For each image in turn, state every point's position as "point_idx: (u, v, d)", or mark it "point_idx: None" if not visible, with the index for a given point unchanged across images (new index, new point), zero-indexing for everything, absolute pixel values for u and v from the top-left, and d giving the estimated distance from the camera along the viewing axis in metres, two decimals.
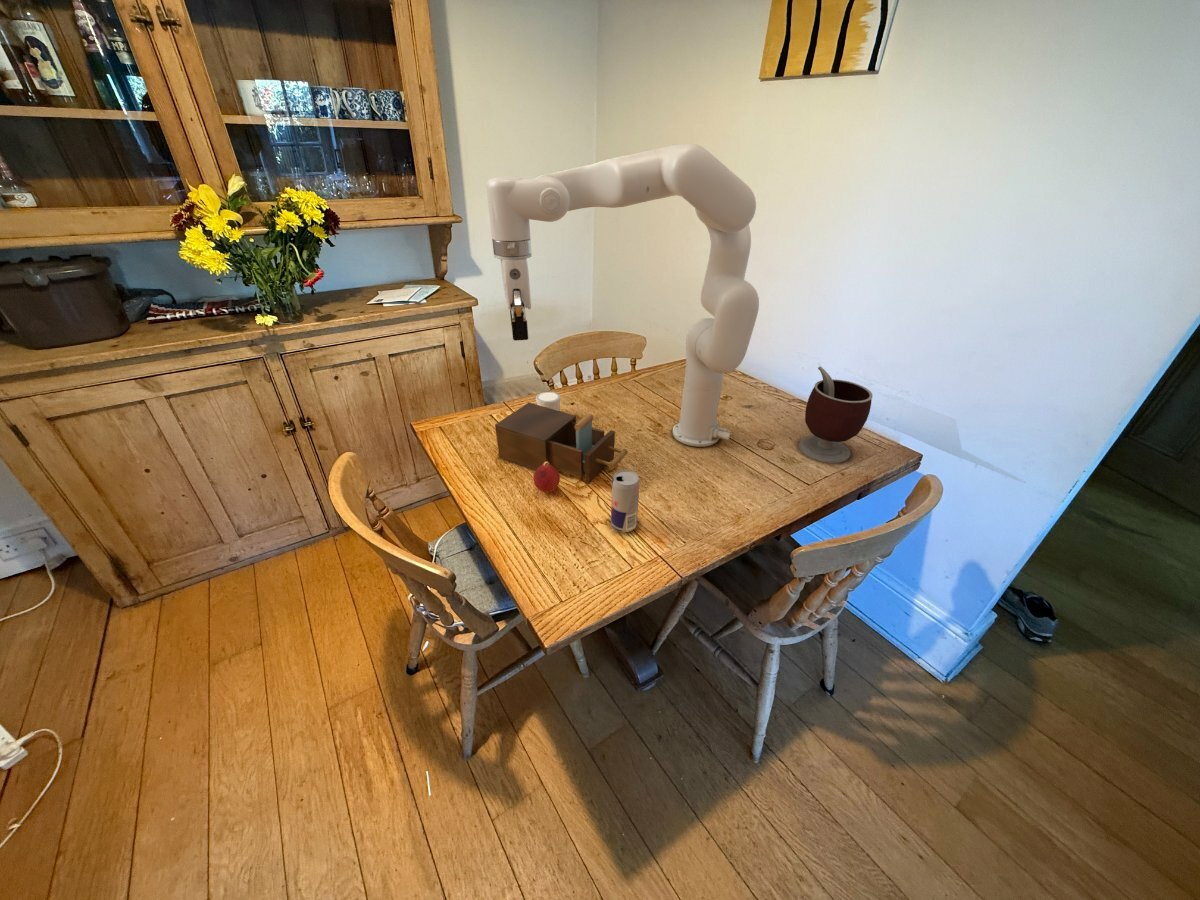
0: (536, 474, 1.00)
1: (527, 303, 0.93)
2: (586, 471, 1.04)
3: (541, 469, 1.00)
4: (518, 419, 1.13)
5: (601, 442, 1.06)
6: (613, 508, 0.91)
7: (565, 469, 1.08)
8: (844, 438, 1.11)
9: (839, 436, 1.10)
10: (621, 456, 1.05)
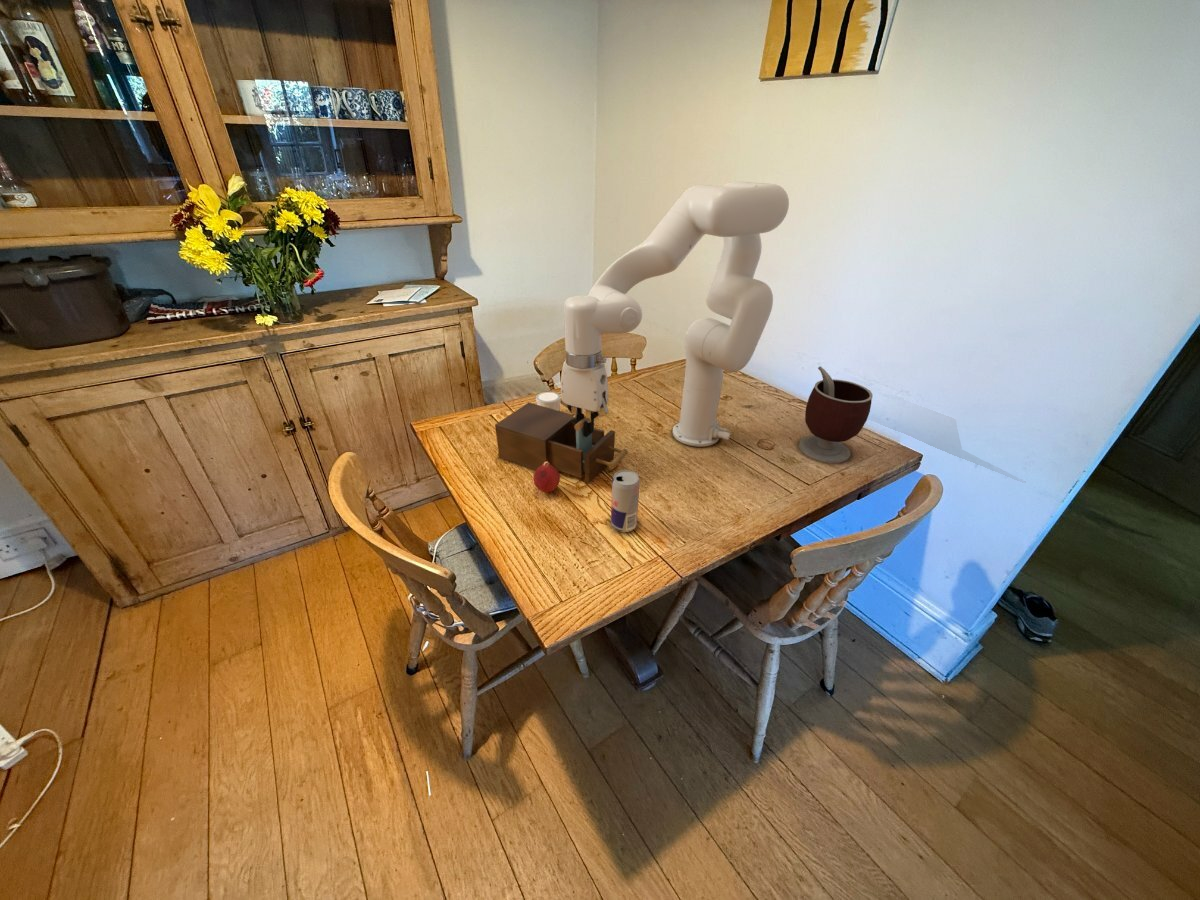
0: (536, 474, 1.00)
1: (607, 400, 1.01)
2: (586, 471, 1.04)
3: (541, 469, 1.00)
4: (518, 419, 1.13)
5: (601, 442, 1.06)
6: (613, 508, 0.91)
7: (565, 469, 1.08)
8: (844, 438, 1.11)
9: (839, 436, 1.10)
10: (621, 456, 1.05)
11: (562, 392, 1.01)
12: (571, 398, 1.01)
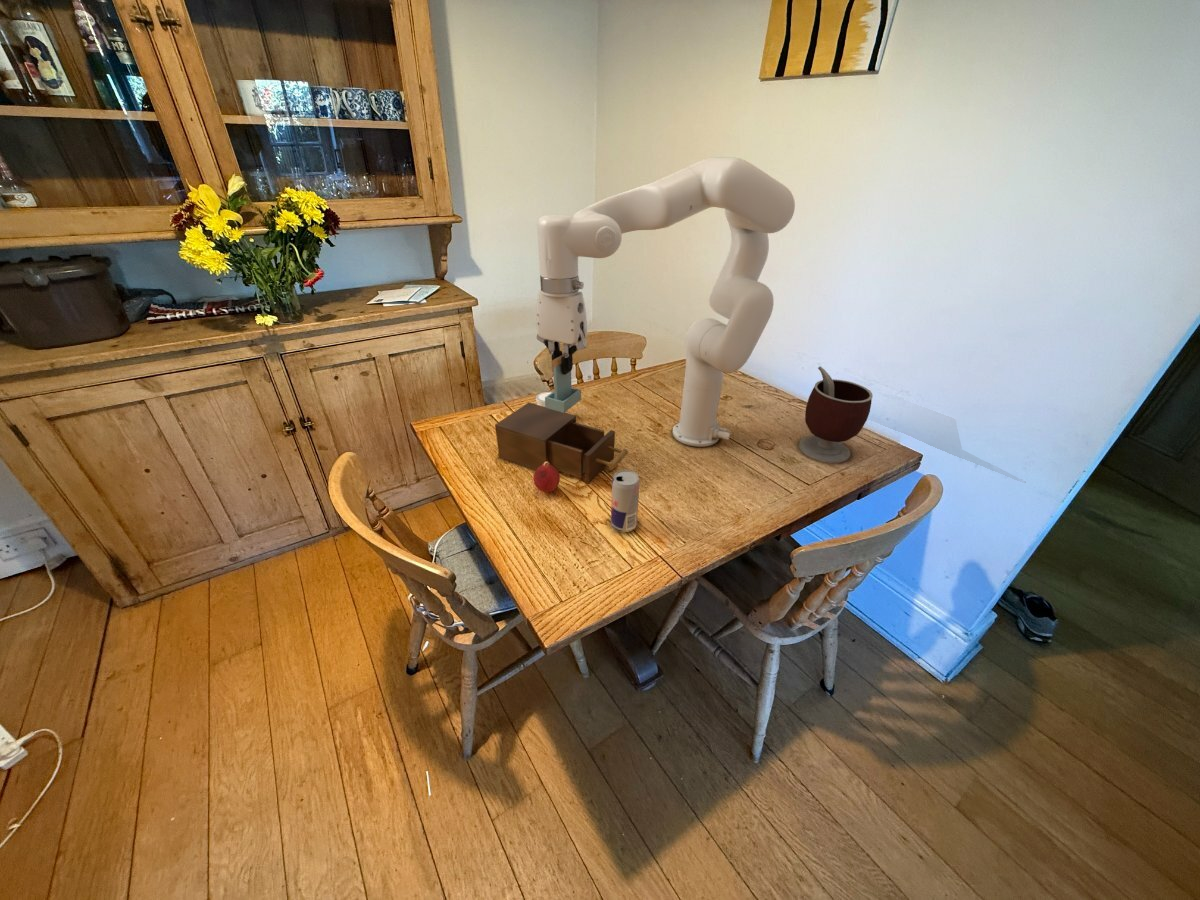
0: (536, 474, 1.00)
1: (586, 333, 0.96)
2: (586, 471, 1.04)
3: (541, 469, 1.00)
4: (518, 419, 1.13)
5: (601, 442, 1.06)
6: (613, 508, 0.91)
7: (565, 469, 1.08)
8: (844, 438, 1.11)
9: (839, 436, 1.10)
10: (621, 456, 1.05)
11: (538, 325, 0.96)
12: (547, 331, 0.95)
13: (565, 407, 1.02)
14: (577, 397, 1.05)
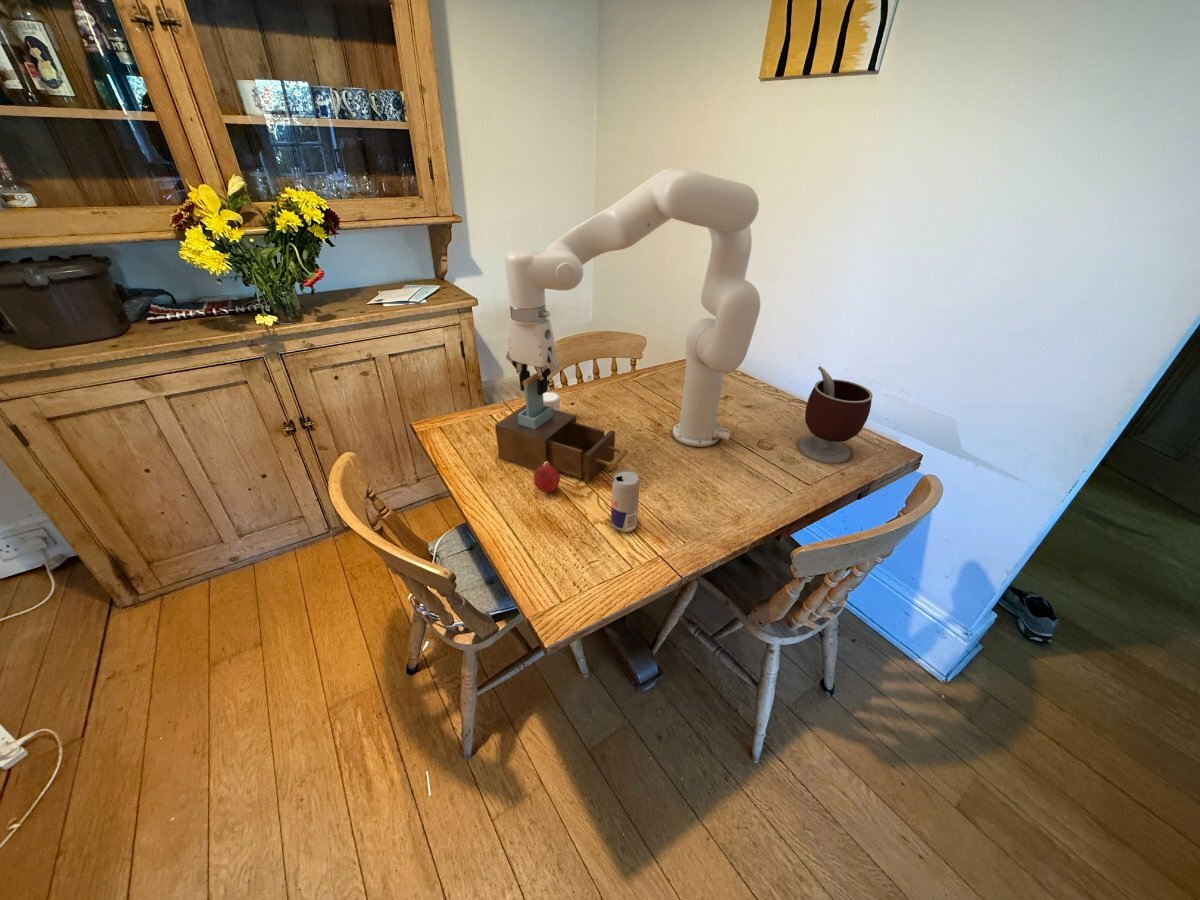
0: (536, 474, 1.00)
1: (554, 357, 1.03)
2: (586, 471, 1.04)
3: (541, 469, 1.00)
4: None
5: (601, 442, 1.06)
6: (613, 508, 0.91)
7: (565, 469, 1.08)
8: (844, 438, 1.11)
9: (839, 436, 1.10)
10: (621, 456, 1.05)
11: (510, 349, 1.03)
12: (518, 354, 1.02)
13: (536, 424, 1.08)
14: (549, 414, 1.12)
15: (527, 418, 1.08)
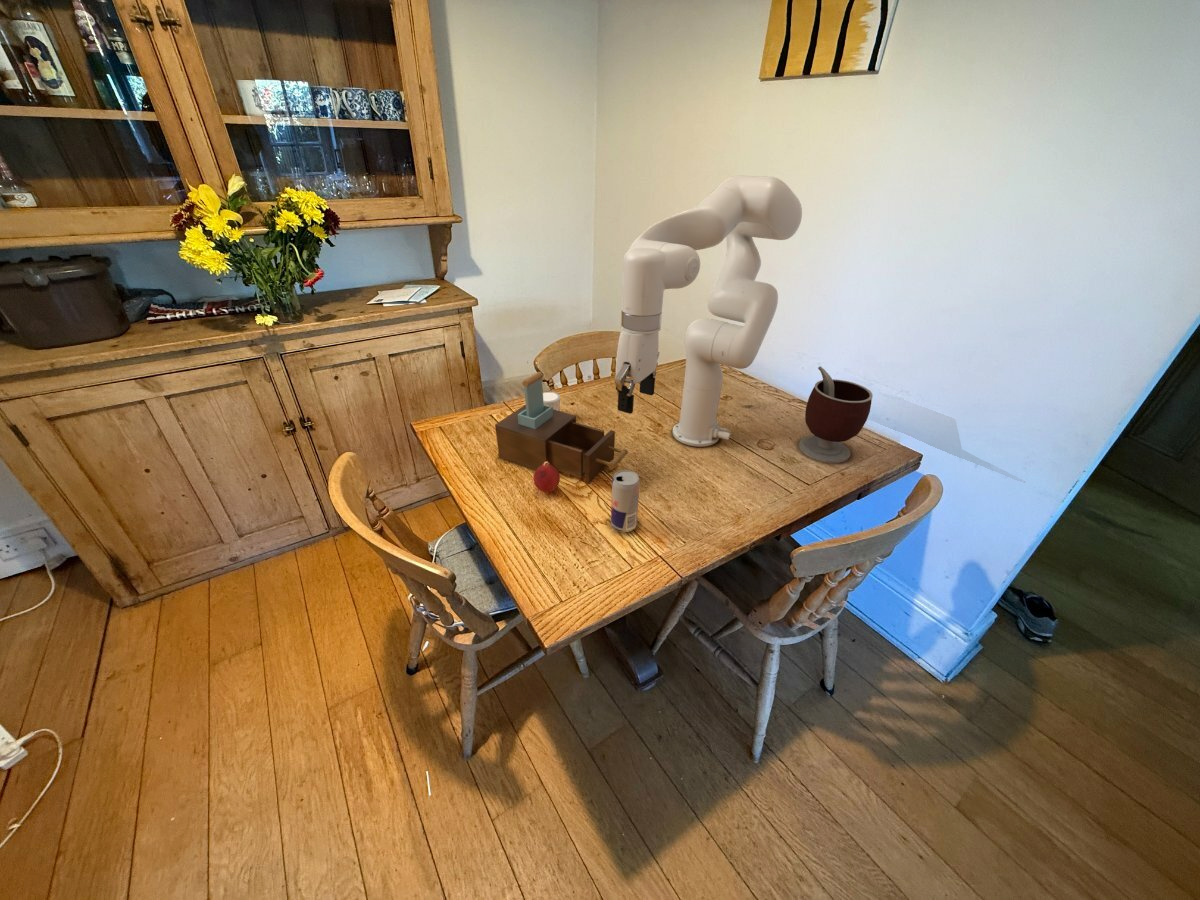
0: (536, 474, 1.00)
1: None
2: (586, 471, 1.04)
3: (541, 469, 1.00)
4: None
5: (601, 442, 1.06)
6: (613, 508, 0.91)
7: (565, 469, 1.08)
8: (844, 438, 1.11)
9: (839, 436, 1.10)
10: (621, 456, 1.05)
11: (638, 371, 0.87)
12: (644, 370, 0.89)
13: (536, 424, 1.08)
14: (549, 414, 1.12)
15: (527, 418, 1.08)
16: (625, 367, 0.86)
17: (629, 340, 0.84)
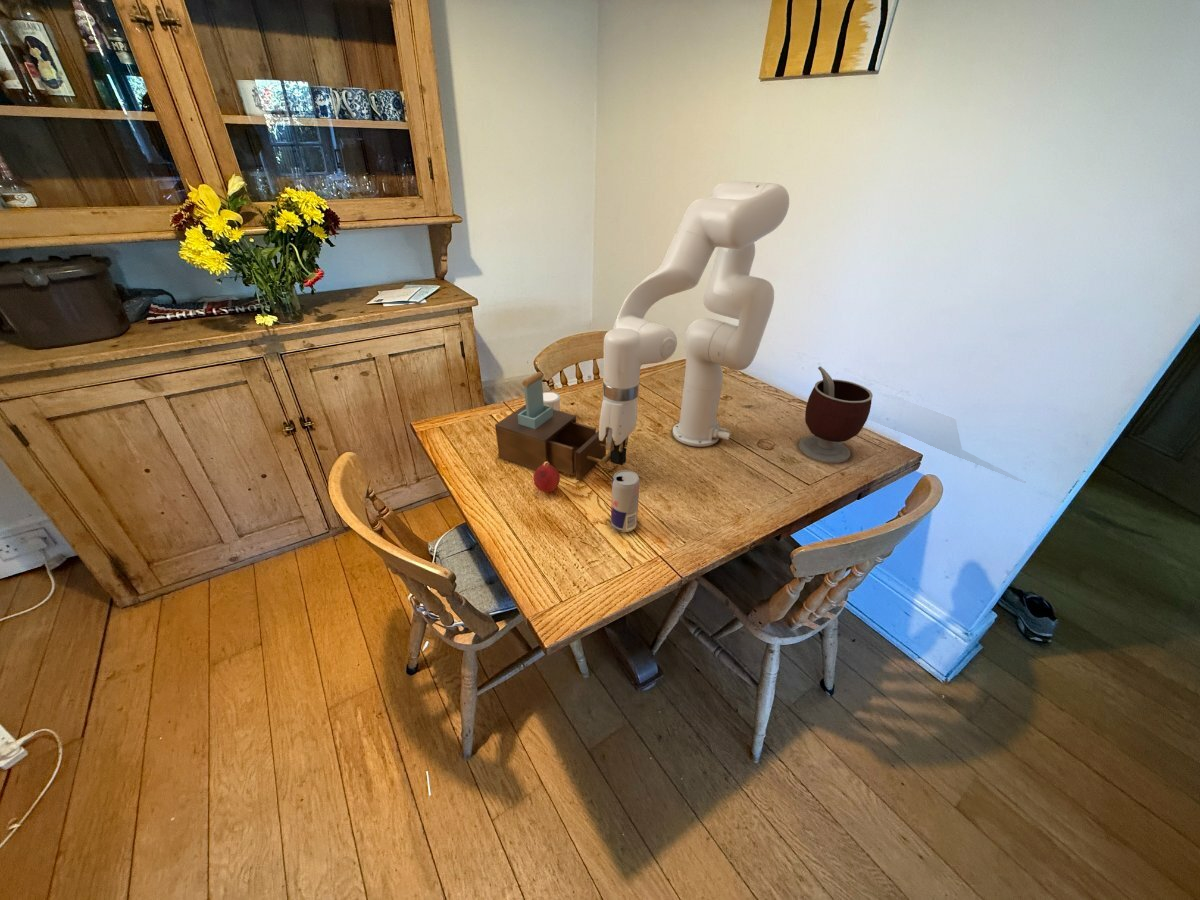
0: (536, 474, 1.00)
1: None
2: (577, 468, 1.04)
3: (541, 469, 1.00)
4: None
5: (592, 439, 1.07)
6: (613, 508, 0.91)
7: (557, 466, 1.09)
8: (844, 438, 1.11)
9: (839, 436, 1.10)
10: None
11: (619, 435, 0.96)
12: (625, 433, 0.98)
13: (536, 424, 1.08)
14: (549, 414, 1.12)
15: (527, 418, 1.08)
16: (610, 436, 0.97)
17: (610, 409, 0.94)
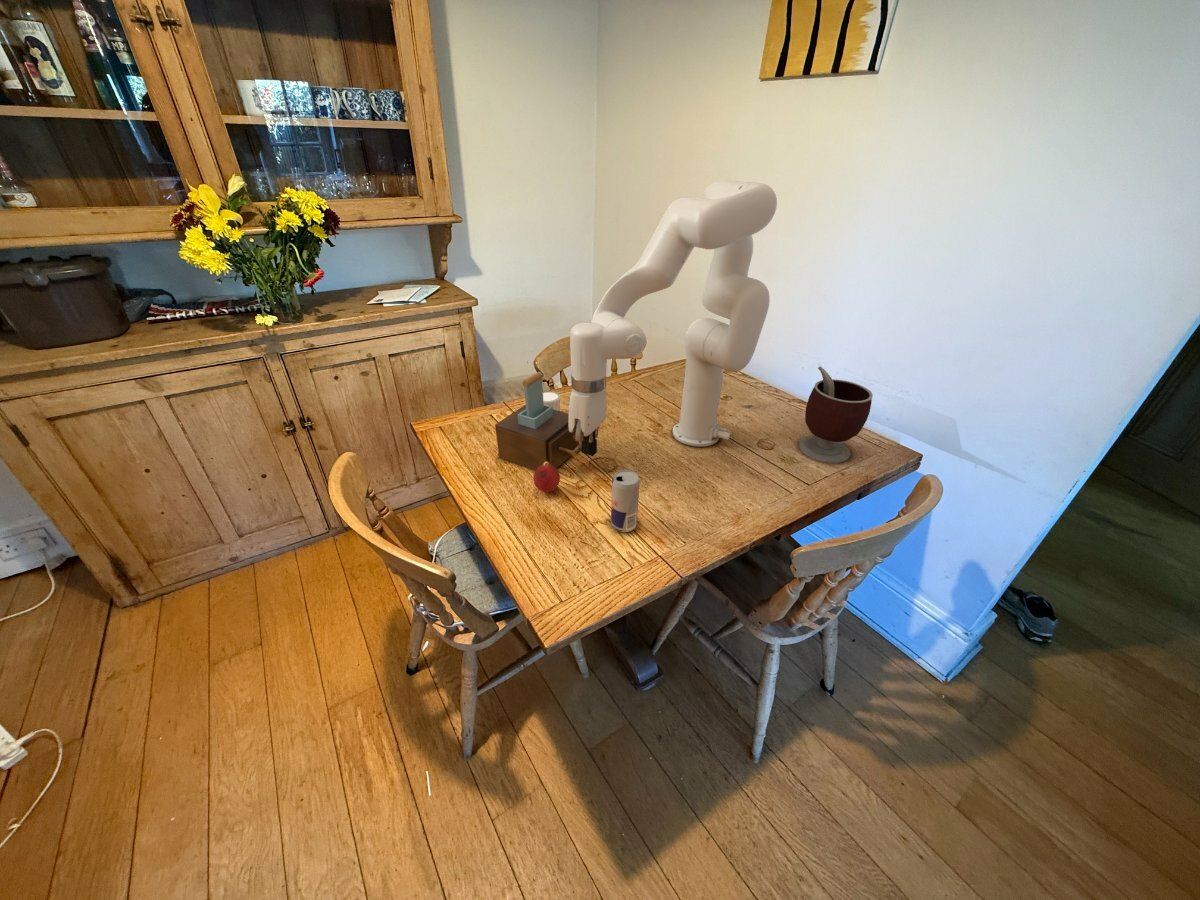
0: (536, 474, 1.00)
1: None
2: (549, 459, 1.08)
3: (541, 469, 1.00)
4: None
5: (564, 431, 1.10)
6: (613, 508, 0.91)
7: None
8: (844, 438, 1.11)
9: (839, 436, 1.10)
10: None
11: (587, 426, 0.99)
12: (593, 424, 1.02)
13: (536, 424, 1.08)
14: (549, 414, 1.12)
15: (527, 418, 1.08)
16: (579, 427, 1.00)
17: (578, 400, 0.97)
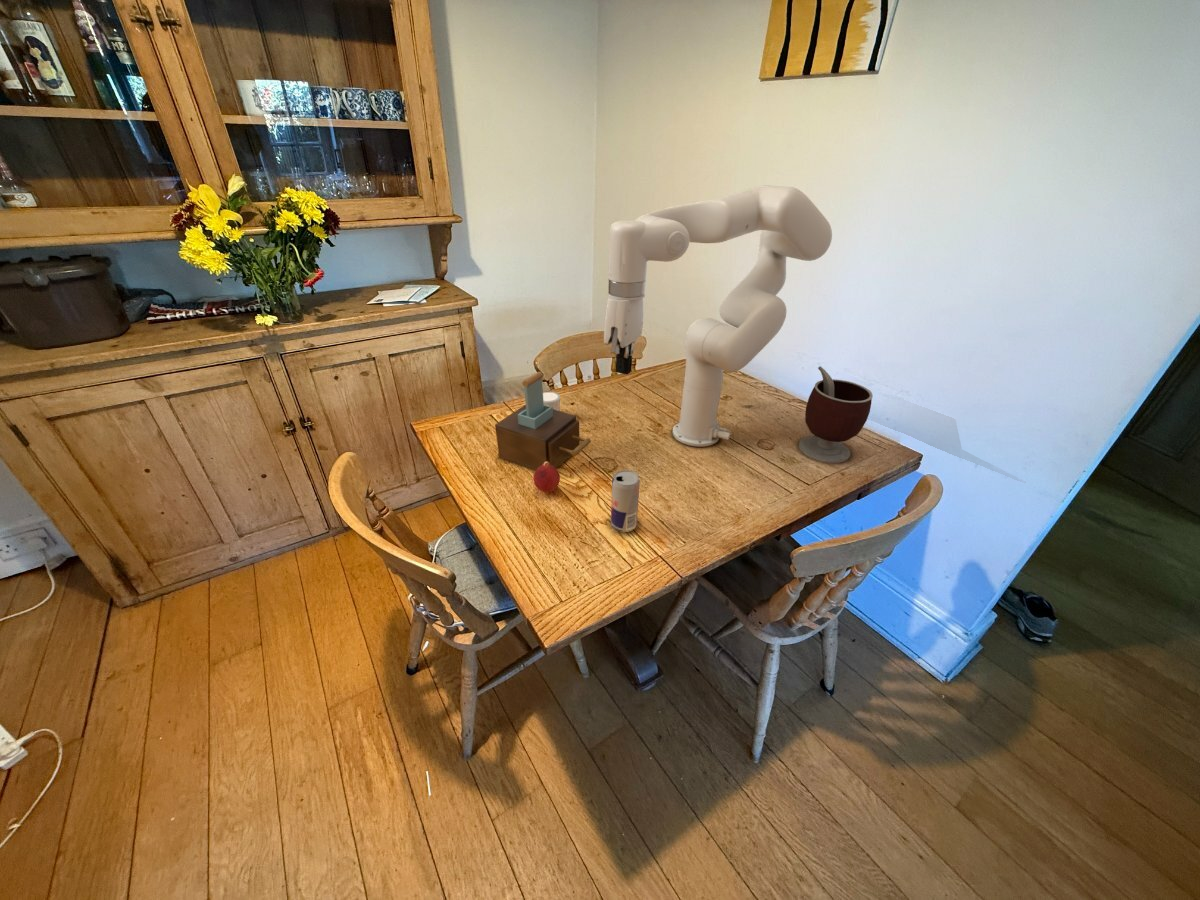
0: (536, 474, 1.00)
1: None
2: (549, 459, 1.08)
3: (541, 469, 1.00)
4: None
5: (564, 431, 1.10)
6: (613, 508, 0.91)
7: None
8: (844, 438, 1.11)
9: (839, 436, 1.10)
10: (583, 444, 1.09)
11: (625, 335, 0.94)
12: (630, 335, 0.96)
13: (536, 424, 1.08)
14: (549, 414, 1.12)
15: (527, 418, 1.08)
16: (615, 337, 0.95)
17: (615, 306, 0.92)
